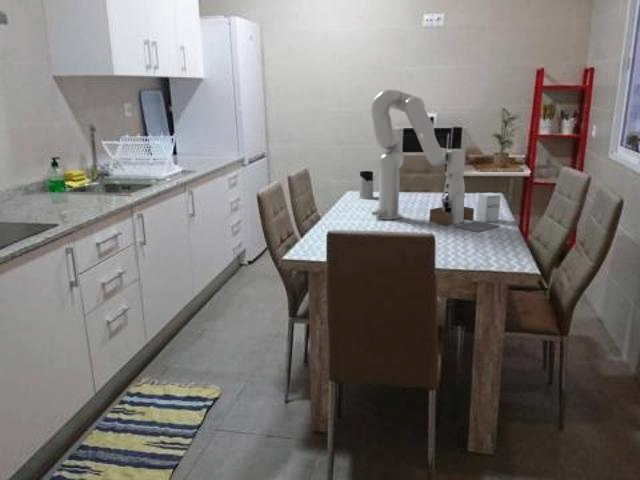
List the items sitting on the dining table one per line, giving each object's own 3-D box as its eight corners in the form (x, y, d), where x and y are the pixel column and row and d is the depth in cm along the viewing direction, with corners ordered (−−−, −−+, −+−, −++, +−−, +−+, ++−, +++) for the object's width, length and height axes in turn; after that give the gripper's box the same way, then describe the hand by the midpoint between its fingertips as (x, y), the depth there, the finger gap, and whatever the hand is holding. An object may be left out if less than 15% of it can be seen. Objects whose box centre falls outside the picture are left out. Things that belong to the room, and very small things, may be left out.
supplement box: (484, 222, 246) (487, 195, 242) (476, 219, 253) (478, 193, 249) (498, 221, 248) (501, 194, 244) (489, 218, 255) (491, 192, 251)
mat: (477, 232, 228) (477, 231, 228) (455, 227, 237) (455, 226, 237) (499, 226, 238) (499, 225, 237) (476, 222, 247) (476, 220, 247)
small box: (463, 222, 247) (465, 194, 244) (455, 224, 243) (456, 196, 240) (449, 219, 253) (450, 192, 250) (440, 221, 249) (442, 193, 246)
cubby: (449, 226, 239) (450, 213, 237) (429, 221, 248) (430, 209, 246) (473, 220, 249) (473, 208, 247) (452, 216, 258) (453, 204, 256)
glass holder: (355, 197, 310) (356, 171, 306) (376, 194, 316) (376, 169, 312) (363, 199, 302) (364, 173, 298) (384, 197, 309) (385, 171, 305)
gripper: (449, 179, 234) (447, 218, 239) (473, 175, 245) (470, 213, 249) (436, 177, 240) (434, 215, 245) (460, 173, 250) (457, 210, 255)
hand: (452, 214), depth 247 cm, fingers closed on small box, 6 cm apart
